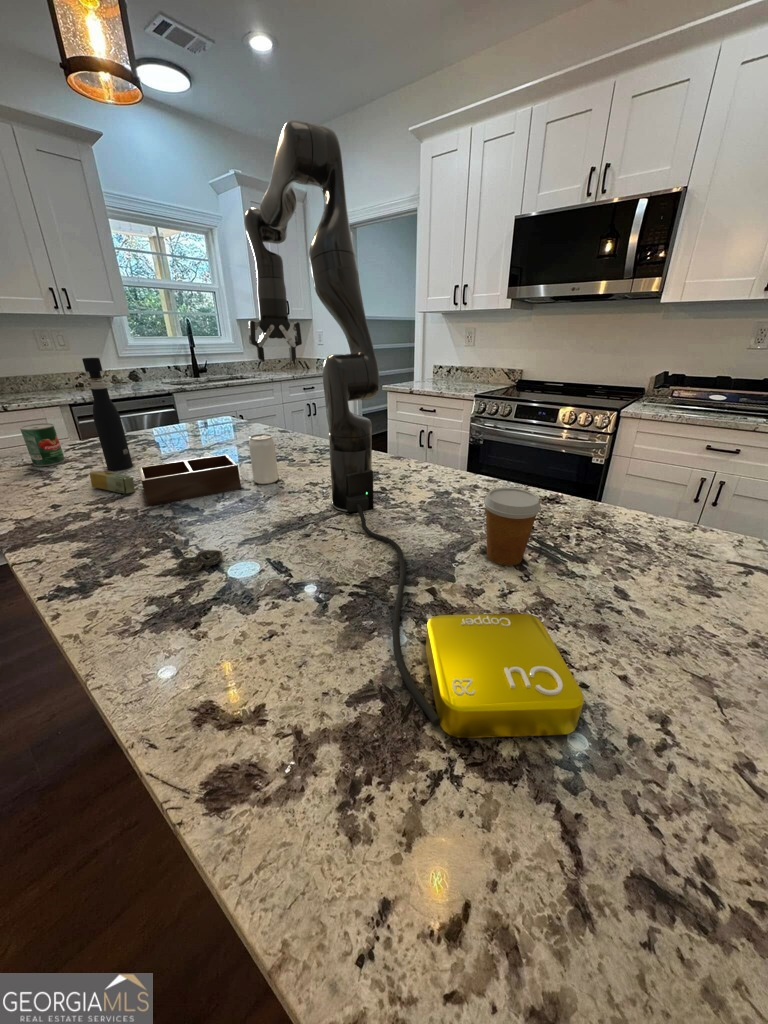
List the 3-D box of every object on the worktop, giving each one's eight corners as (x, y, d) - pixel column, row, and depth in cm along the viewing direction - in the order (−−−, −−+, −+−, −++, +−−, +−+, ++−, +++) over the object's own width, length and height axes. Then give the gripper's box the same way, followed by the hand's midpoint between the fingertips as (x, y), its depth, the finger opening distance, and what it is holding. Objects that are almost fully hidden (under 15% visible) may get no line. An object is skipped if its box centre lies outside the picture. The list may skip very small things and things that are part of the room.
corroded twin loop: (171, 568, 72) (170, 563, 72) (214, 551, 78) (213, 546, 77) (185, 579, 69) (183, 573, 69) (229, 560, 75) (228, 555, 74)
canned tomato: (39, 459, 128) (27, 424, 123) (69, 457, 130) (58, 422, 125) (28, 467, 121) (14, 430, 116) (59, 465, 123) (47, 428, 119)
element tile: (532, 637, 57) (537, 608, 55) (583, 736, 43) (593, 703, 41) (423, 639, 57) (425, 610, 55) (440, 740, 43) (443, 707, 41)
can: (281, 476, 115) (277, 433, 110) (273, 485, 109) (268, 440, 104) (259, 475, 115) (253, 433, 110) (249, 484, 110) (243, 439, 105)
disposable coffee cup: (493, 574, 71) (502, 510, 66) (469, 547, 80) (475, 489, 74) (542, 566, 74) (554, 504, 68) (513, 541, 82) (522, 484, 77)
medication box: (136, 491, 105) (133, 476, 103) (126, 494, 102) (124, 478, 101) (100, 484, 108) (98, 469, 107) (90, 487, 106) (88, 471, 104)
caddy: (241, 488, 107) (237, 465, 104) (147, 506, 97) (141, 480, 94) (230, 475, 115) (227, 454, 113) (143, 490, 105) (137, 467, 102)
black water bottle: (109, 465, 123) (78, 357, 111) (133, 462, 126) (106, 356, 113) (106, 471, 118) (73, 359, 105) (132, 468, 120) (103, 358, 108)
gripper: (248, 295, 107) (255, 362, 113) (302, 298, 113) (305, 361, 119) (242, 297, 113) (249, 361, 119) (293, 300, 119) (297, 360, 125)
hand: (277, 361), depth 119 cm, fingers open, 8 cm apart
